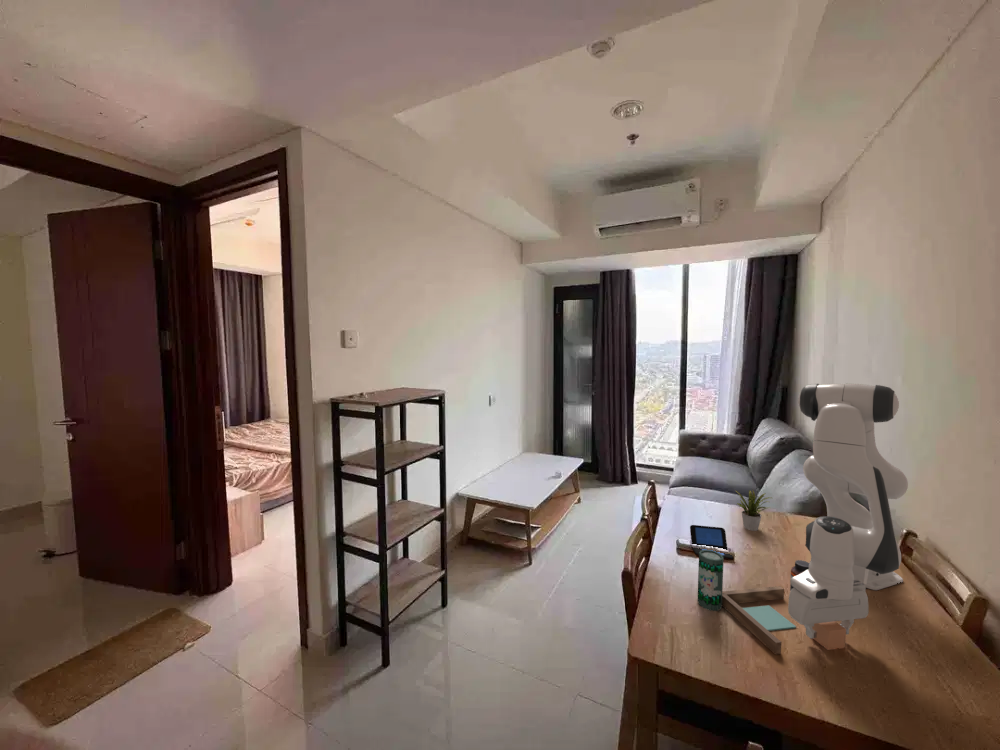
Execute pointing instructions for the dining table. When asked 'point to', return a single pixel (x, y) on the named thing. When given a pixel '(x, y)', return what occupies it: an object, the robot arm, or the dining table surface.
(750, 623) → the wooden l-shaped wall
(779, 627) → the pad
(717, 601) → the can
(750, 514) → the house plant
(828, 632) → the cube
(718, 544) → the handheld game console
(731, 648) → the dining table surface
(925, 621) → the dining table surface
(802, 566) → the supplement bottle
